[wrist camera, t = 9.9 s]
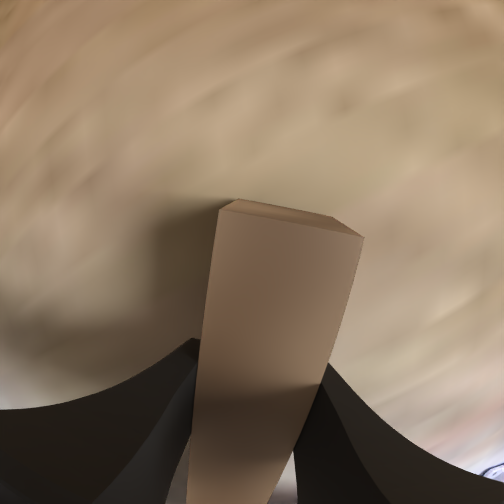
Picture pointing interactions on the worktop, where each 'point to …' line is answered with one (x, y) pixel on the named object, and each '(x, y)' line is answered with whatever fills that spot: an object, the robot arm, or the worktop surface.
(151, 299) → the worktop surface
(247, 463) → the tan long block
